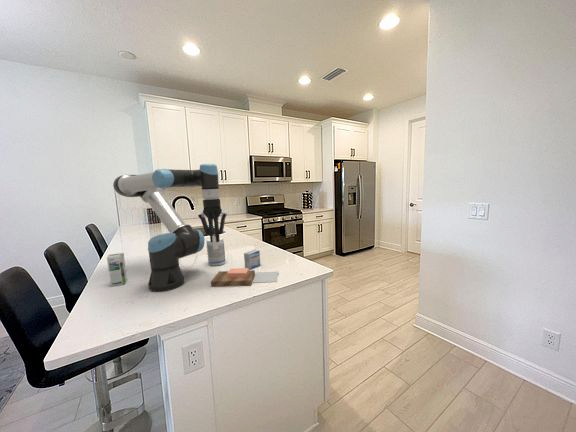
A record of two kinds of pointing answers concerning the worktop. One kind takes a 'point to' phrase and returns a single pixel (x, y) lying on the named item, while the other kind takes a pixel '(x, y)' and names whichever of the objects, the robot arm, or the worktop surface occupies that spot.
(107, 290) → the worktop surface
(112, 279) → the syrup box
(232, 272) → the card
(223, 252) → the supplement tub
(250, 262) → the medicine box
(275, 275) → the mat
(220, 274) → the deck
